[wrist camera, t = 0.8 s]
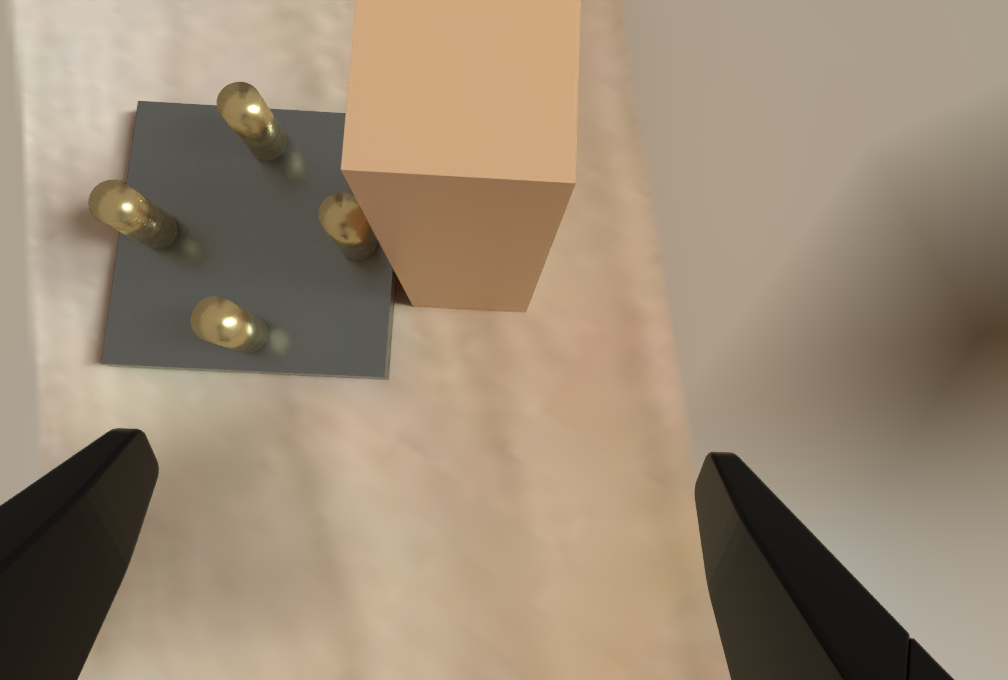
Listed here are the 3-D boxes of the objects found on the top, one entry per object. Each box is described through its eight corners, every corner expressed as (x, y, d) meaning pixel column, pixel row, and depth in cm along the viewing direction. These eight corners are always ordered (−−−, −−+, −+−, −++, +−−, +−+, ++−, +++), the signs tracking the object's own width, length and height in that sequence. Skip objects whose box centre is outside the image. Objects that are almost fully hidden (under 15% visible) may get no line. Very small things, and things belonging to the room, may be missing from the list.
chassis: (388, 379, 24) (370, 368, 20) (116, 366, 24) (44, 353, 20) (406, 128, 26) (393, 74, 22) (151, 113, 25) (91, 55, 22)
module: (526, 311, 25) (575, 182, 12) (413, 306, 25) (341, 170, 12) (530, 204, 26) (581, -27, 13) (420, 197, 25) (359, -42, 13)
